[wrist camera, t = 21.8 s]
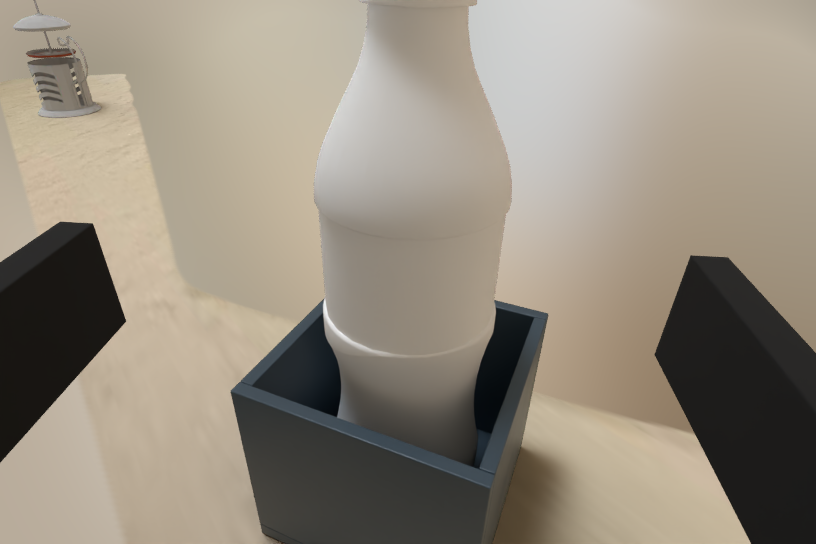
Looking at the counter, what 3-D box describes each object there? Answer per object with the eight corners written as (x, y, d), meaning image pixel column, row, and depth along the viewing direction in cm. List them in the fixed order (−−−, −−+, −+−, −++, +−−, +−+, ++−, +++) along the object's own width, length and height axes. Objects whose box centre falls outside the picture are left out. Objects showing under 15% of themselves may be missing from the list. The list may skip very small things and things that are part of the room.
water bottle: (395, 406, 32) (401, -82, 18) (496, 469, 28) (593, -87, 15) (308, 485, 27) (233, -100, 14) (416, 574, 23) (455, -114, 10)
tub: (466, 630, 22) (490, 488, 17) (262, 533, 25) (229, 390, 20) (521, 445, 30) (548, 313, 25) (361, 391, 34) (357, 265, 29)
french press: (75, 101, 96) (26, -56, 83) (120, 108, 92) (76, -55, 79) (24, 113, 89) (-39, -58, 75) (71, 121, 85) (13, -57, 72)
